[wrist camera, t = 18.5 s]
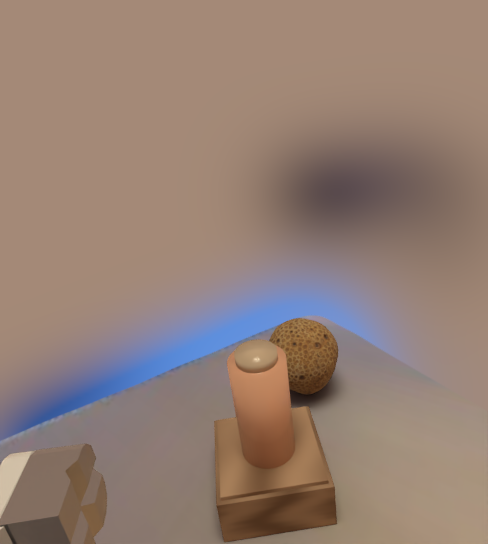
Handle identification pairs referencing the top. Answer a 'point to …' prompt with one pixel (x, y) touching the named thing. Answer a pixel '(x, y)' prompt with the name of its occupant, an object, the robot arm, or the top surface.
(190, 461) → the top surface
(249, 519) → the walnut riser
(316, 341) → the natural sponge
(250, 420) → the terracotta jar
